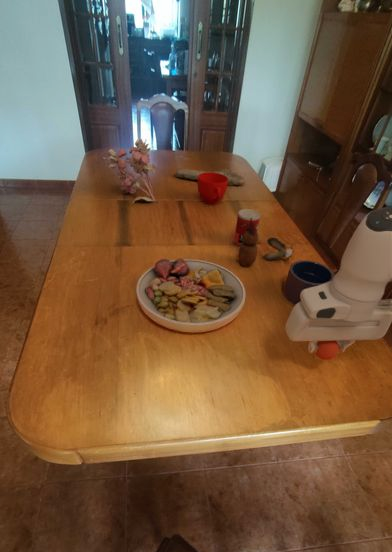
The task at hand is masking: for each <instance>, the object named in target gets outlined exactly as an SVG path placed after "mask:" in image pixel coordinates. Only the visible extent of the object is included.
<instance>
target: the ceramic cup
mask: <svg viewBox="0 0 392 552" xmlns="http://www.w3.org/2000/svg"><path fill="white" fill-rule="evenodd" d="M213 172H214V171H207V172H206V173H201V174H199V175H198V181H197V190H198V194H199V197H200V198H201V200H202V201H203V203H204V204H206V205H211V206H213V205H214V206H215V205H218V204H219V202H220V201H221V200H222V199H223V198H224V196H225V194H226V192H227V188H228V185H227V184H228V178H227V177H226V176H225V175H223V174H219V173H213Z"/></svg>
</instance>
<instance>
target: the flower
mask: <svg viewBox="0 0 392 552" xmlns="http://www.w3.org/2000/svg"><path fill="white" fill-rule="evenodd" d="M146 143H147V140H143V138H140V139H136V141H135V143H134V146H132V147H130V148H129V149H128V152H129V153H127V151H126V149H125V148H124V147H123V148H119V150H118V152H116V151H115V150H114V149H111V148H110V149H109V150H108V153H107V157H104V156H103V157H102V158H103V159H105V160H107V161H108V162H106V164H107V165H108V164H109V165H108V167H109V168H110V169H116V167H117V170H118V171H117V178H118V179H119V180H121V181H120V184H121V186H122V187H120V190H121V191H123V190H124V191H125V193H127V194H128V193H129V194H132V195H134V194H135V193H136V192H137V189H140V190H141V191H142V192H143V193H144V194H145V195H146V196H137V197H136V198H135V199H133V201H132V204H134V203H135V202H137V201H145V202H152V203H153V202H154V203H157V204H158V201H157V200H156V199H155V196H154V191H153V186H152V182H151V179H150V175H149V172H150V171H152V172H153V174H155V170H156V171H159V169H158V167H157V166H156V165H155V164H154V163H150V162H151V158H150V154H149V152H151V151H150V150H151V149H152V147H149V145H150V144H149V143H147V144H146ZM127 154H129V155H130V156H129V157H128V156H126V155H127ZM124 156H125V157H126V158H125V159H123V157H124ZM127 164H128V166H129V167H131V168H132V169H133V172H134V173H135V174H139V175H140V176H138V177H137V179H136V181H135V175H134V174H133V173H132V172H129V171H128V169H126V168H127ZM144 175H145V176H146V177H145V176H144ZM146 179H147V180H146ZM141 181H143V182H144V185H145V186H146V188H147V190H148V191H147V190H145V189H144V188H143V187H141V186H140V185H141ZM147 196H148V197H147Z"/></svg>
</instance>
